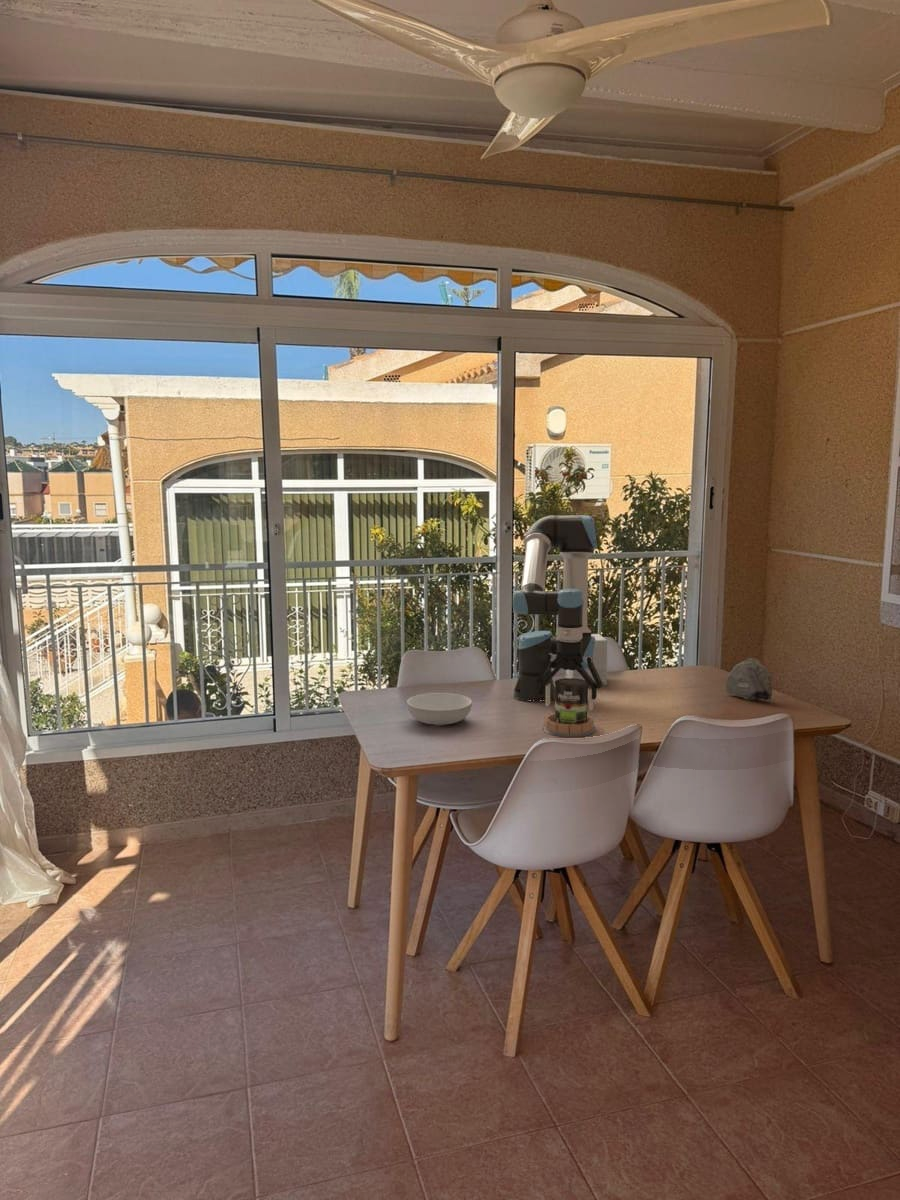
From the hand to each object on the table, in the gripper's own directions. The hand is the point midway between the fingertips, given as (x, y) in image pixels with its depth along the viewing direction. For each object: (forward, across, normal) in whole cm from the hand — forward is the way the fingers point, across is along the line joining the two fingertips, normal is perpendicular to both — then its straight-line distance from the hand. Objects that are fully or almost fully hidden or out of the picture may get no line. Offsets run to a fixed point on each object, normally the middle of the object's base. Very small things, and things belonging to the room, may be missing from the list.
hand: (569, 707), depth 251 cm
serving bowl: (+7, -41, -6) cm, 42 cm away
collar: (+7, 0, 0) cm, 7 cm away
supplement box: (+8, -9, +62) cm, 63 cm away
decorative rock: (+8, +50, +56) cm, 75 cm away
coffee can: (+6, +1, 0) cm, 6 cm away
